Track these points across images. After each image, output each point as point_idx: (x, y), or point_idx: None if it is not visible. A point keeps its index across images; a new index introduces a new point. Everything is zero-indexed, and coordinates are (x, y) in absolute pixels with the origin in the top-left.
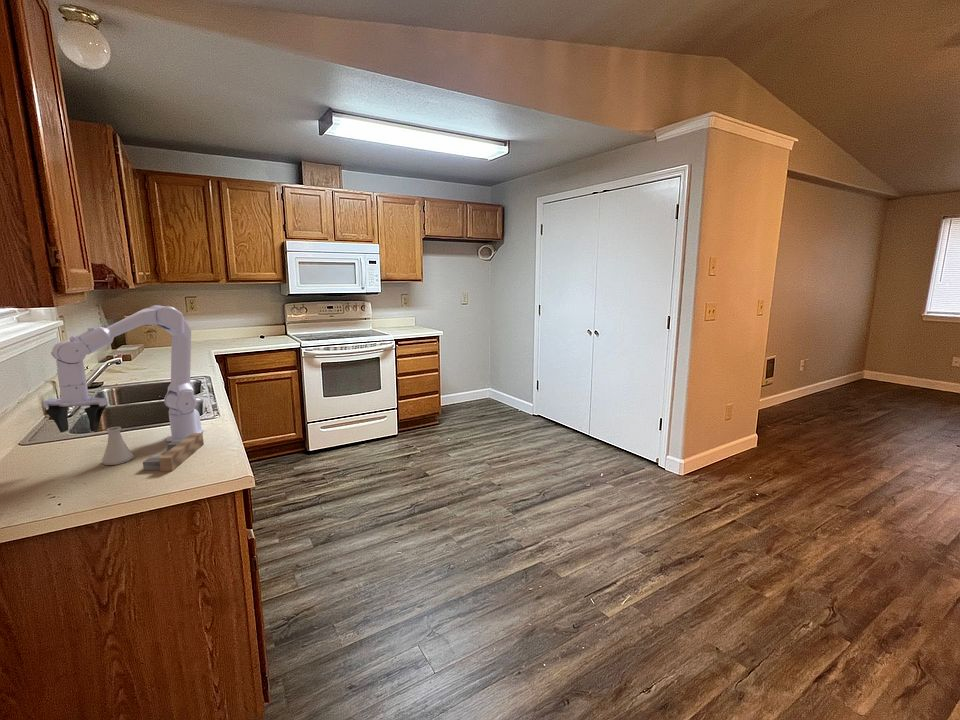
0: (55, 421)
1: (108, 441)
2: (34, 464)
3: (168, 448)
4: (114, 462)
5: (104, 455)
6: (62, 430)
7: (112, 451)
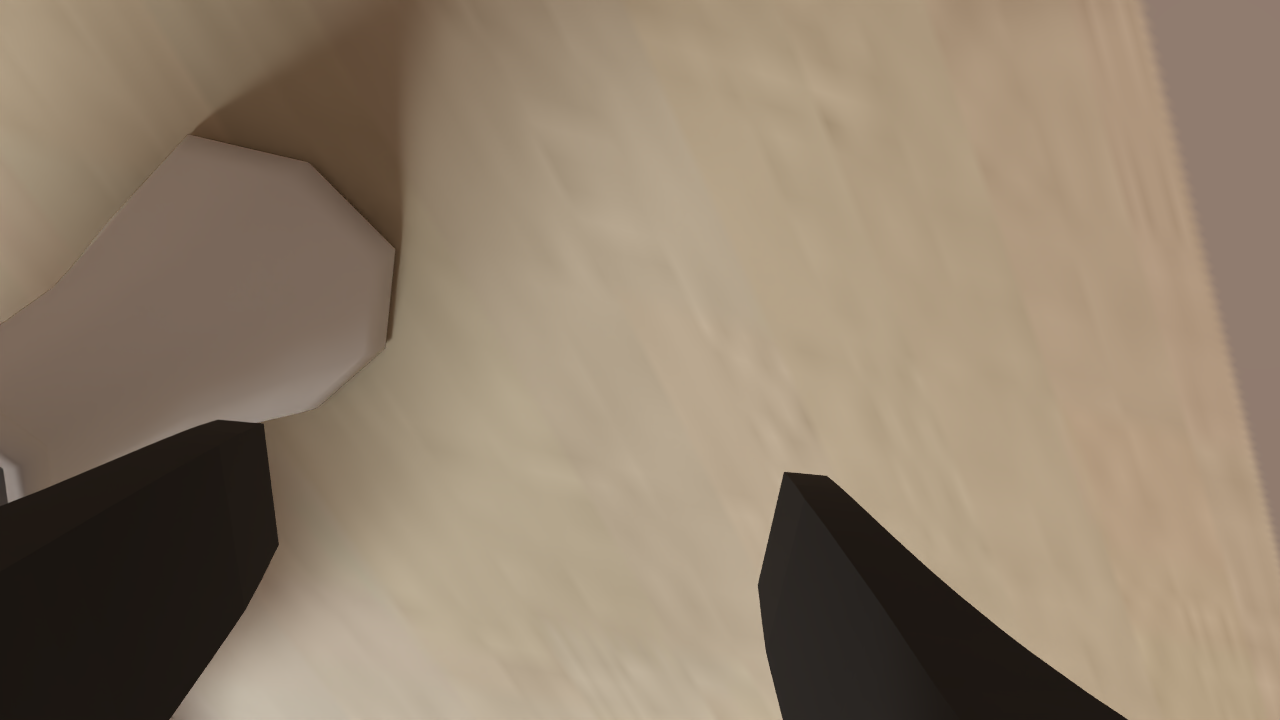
0: (982, 633)
1: (161, 346)
2: (1035, 383)
3: None
4: (187, 148)
5: (319, 264)
6: (794, 490)
7: (149, 225)
